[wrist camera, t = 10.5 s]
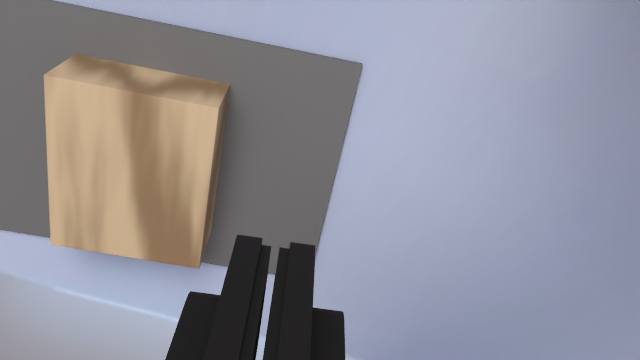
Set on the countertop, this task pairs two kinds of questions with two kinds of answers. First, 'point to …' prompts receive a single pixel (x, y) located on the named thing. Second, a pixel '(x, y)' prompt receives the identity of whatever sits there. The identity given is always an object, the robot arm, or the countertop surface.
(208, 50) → the mat
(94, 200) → the slab
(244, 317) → the robot arm
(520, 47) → the countertop surface
